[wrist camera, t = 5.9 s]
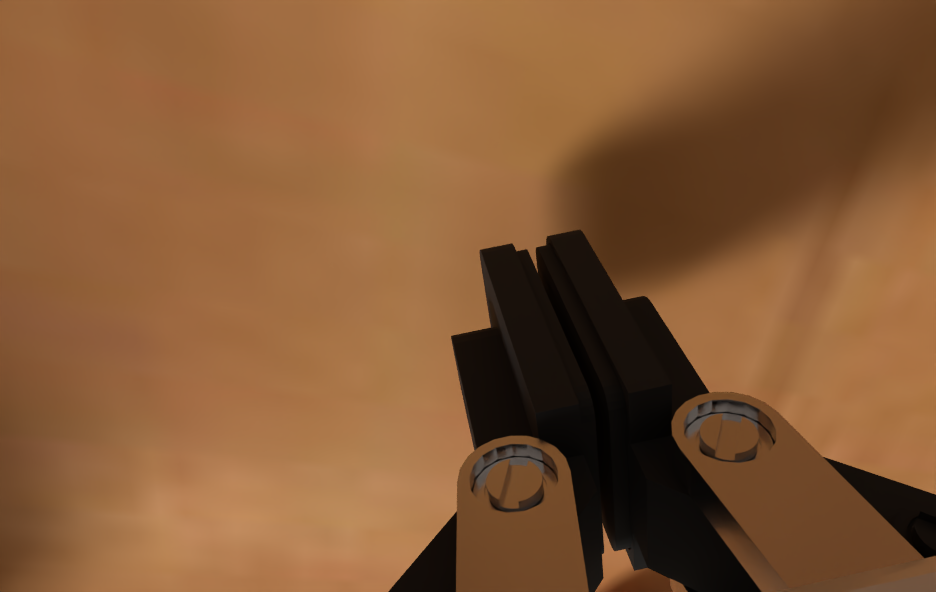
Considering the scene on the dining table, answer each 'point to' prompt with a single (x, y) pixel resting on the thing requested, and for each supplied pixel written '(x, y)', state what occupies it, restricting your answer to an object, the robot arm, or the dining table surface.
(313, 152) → the dining table surface
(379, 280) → the dining table surface
